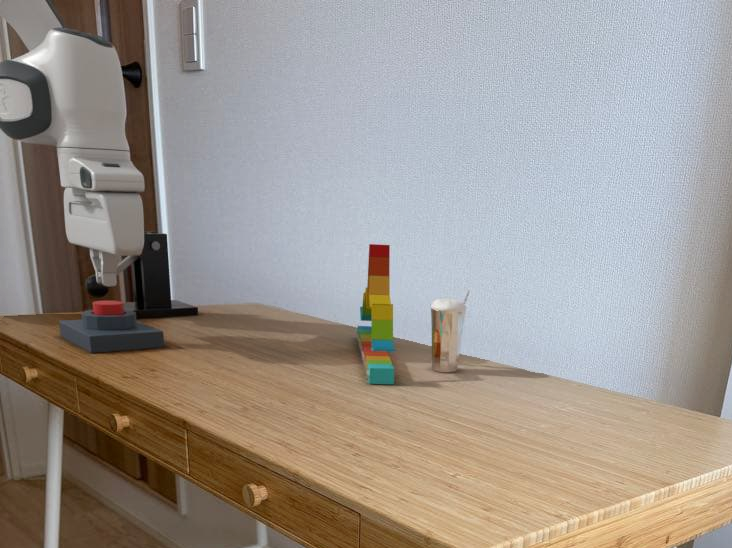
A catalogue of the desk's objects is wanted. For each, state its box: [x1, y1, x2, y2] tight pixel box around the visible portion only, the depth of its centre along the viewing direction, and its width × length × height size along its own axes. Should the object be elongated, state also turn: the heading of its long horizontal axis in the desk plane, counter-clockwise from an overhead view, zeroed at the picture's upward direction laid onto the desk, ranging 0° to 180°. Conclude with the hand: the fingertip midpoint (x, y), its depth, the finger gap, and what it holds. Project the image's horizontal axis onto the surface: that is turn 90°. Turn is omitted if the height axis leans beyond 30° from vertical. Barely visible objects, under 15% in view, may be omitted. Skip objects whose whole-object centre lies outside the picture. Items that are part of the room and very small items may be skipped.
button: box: [92, 300, 124, 315], centre depth 114 cm, size 4×4×2 cm
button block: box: [58, 309, 165, 354], centre depth 115 cm, size 13×10×4 cm
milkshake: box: [430, 290, 471, 373], centre depth 107 cm, size 4×5×10 cm
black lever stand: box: [123, 231, 199, 320], centre depth 138 cm, size 12×9×13 cm
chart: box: [355, 243, 396, 385], centre depth 111 cm, size 30×3×15 cm, turn 6°
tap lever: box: [85, 255, 140, 299], centre depth 135 cm, size 14×4×4 cm
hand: (106, 285), depth 113 cm, fingers closed
